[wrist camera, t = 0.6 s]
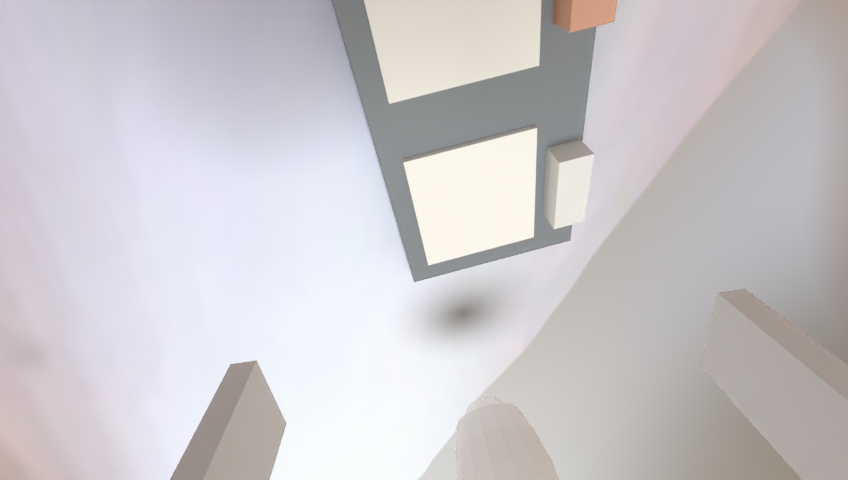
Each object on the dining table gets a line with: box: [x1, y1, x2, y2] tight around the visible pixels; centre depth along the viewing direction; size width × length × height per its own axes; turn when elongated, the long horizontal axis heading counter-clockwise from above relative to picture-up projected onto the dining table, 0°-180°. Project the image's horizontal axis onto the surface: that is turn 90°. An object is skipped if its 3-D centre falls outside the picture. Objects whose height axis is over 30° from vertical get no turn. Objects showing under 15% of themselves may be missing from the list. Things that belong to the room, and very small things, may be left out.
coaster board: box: [332, 0, 617, 282], centre depth 24 cm, size 28×14×3 cm, turn 9°
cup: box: [456, 397, 559, 480], centre depth 33 cm, size 7×7×21 cm
